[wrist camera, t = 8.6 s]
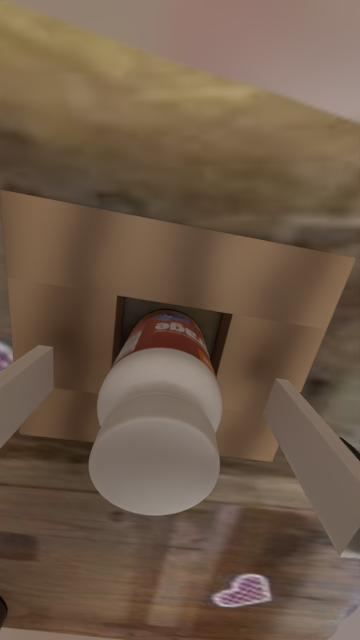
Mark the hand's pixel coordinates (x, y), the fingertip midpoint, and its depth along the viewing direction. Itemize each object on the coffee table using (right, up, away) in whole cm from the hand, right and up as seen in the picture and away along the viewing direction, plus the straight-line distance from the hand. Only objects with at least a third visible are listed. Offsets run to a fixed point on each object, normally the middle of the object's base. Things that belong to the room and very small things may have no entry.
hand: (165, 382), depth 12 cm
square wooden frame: (0, +2, +5) cm, 6 cm away
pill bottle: (0, +2, +6) cm, 6 cm away
